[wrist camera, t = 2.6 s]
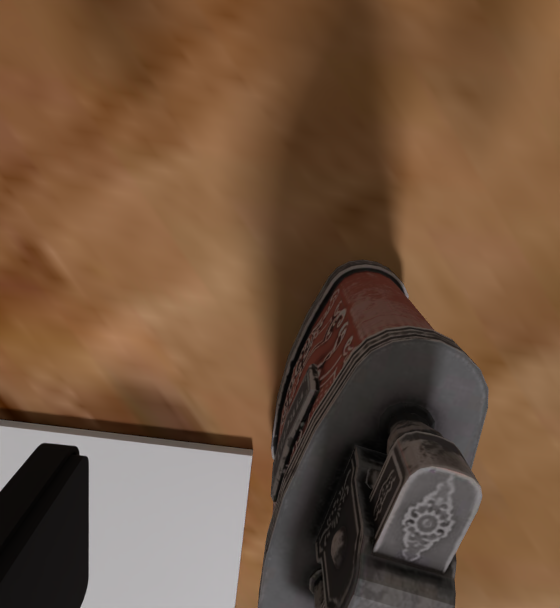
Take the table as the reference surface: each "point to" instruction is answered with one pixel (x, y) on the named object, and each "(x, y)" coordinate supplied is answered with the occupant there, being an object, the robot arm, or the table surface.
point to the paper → (152, 514)
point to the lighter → (371, 453)
